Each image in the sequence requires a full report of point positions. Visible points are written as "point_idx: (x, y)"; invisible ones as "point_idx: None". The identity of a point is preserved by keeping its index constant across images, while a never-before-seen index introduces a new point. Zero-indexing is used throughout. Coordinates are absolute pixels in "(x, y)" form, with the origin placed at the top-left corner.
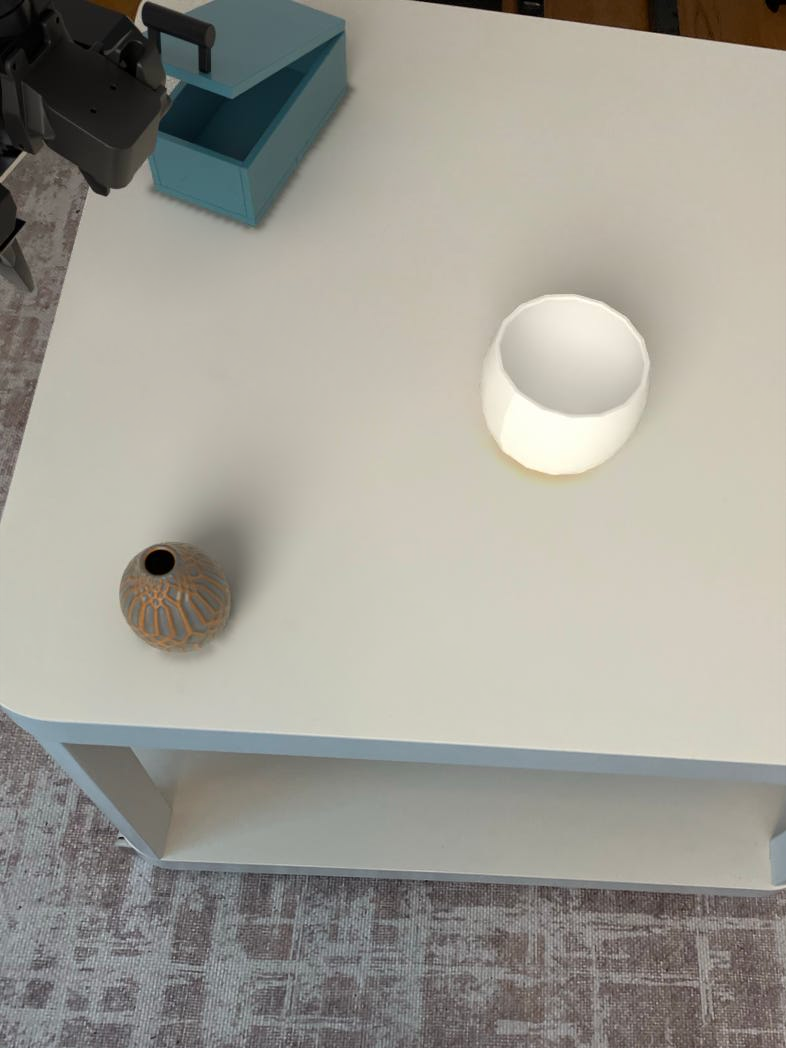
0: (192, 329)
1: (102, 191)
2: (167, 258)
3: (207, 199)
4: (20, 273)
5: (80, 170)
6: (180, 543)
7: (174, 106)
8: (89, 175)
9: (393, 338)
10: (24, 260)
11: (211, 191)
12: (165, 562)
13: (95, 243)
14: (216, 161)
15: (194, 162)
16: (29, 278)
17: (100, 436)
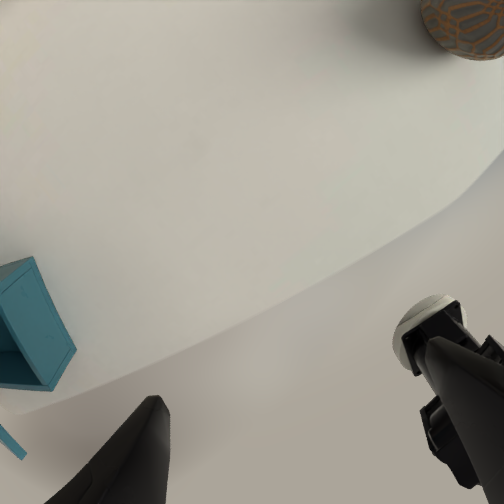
0: (163, 215)
1: (160, 406)
2: (115, 297)
3: (46, 308)
4: (490, 362)
5: (169, 455)
6: (471, 4)
7: (18, 380)
8: (163, 442)
9: (46, 47)
10: (488, 379)
11: (38, 309)
12: (447, 41)
13: (154, 355)
14: (11, 320)
15: (30, 337)
16: (456, 353)
17: (344, 199)
